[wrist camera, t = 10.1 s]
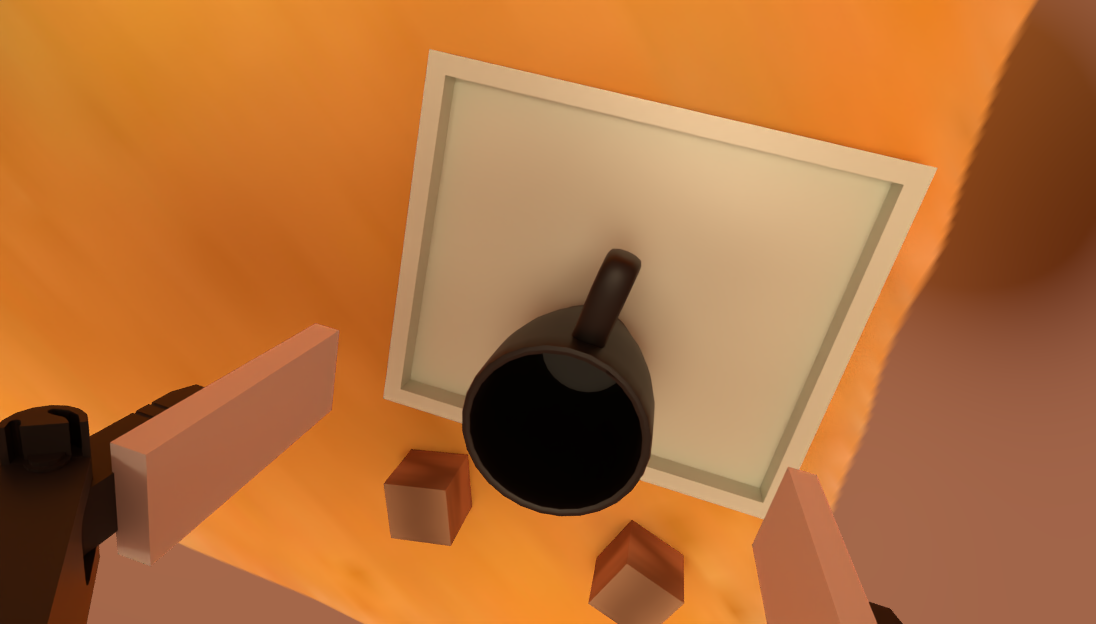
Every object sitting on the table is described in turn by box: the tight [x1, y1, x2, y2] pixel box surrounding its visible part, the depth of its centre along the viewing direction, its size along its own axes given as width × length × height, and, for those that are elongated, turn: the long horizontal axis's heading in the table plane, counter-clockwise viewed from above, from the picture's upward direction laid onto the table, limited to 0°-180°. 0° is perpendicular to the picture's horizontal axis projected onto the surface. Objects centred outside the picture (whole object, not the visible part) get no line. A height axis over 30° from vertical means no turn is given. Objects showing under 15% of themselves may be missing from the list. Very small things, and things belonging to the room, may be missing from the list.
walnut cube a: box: [384, 449, 472, 546], centre depth 37 cm, size 4×4×4 cm
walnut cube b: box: [588, 520, 684, 624], centre depth 35 cm, size 4×4×4 cm
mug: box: [462, 249, 655, 516], centre depth 28 cm, size 8×12×10 cm
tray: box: [383, 49, 937, 519], centre depth 31 cm, size 24×20×2 cm
